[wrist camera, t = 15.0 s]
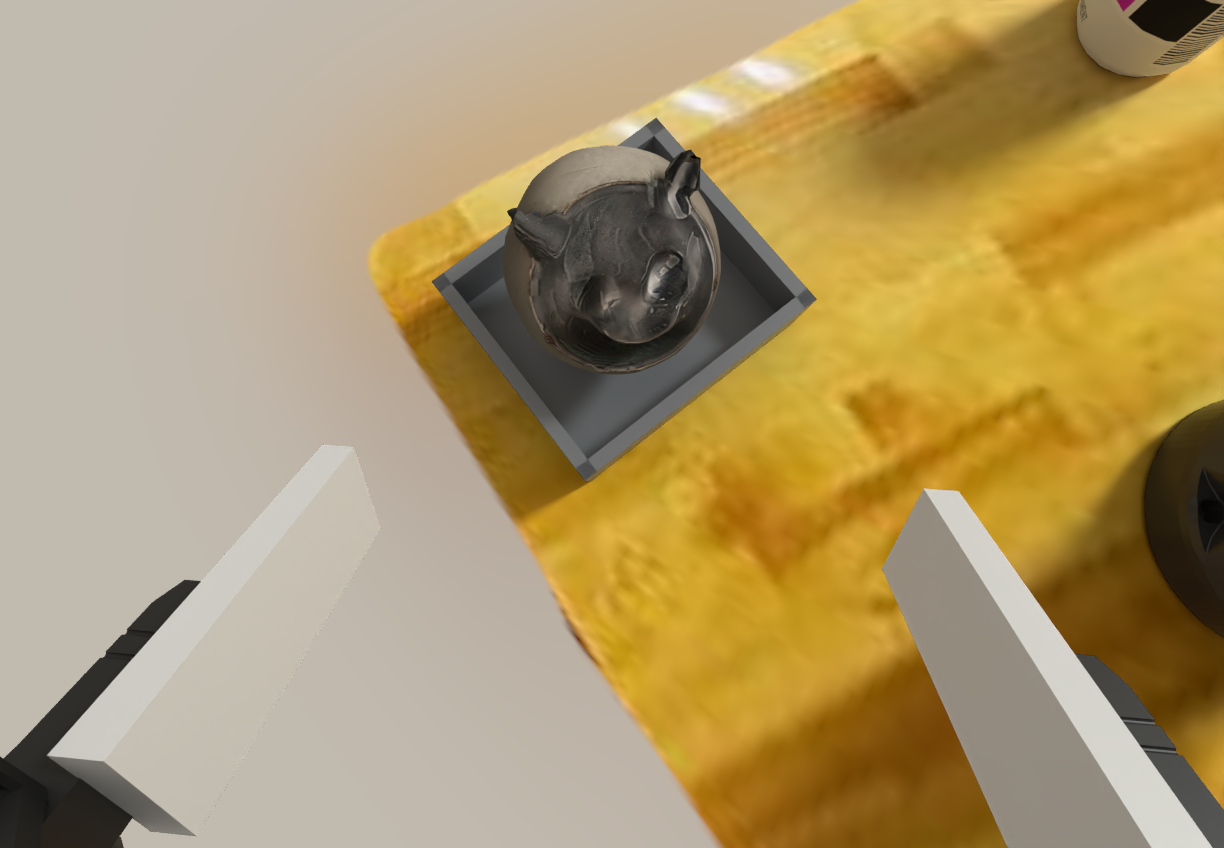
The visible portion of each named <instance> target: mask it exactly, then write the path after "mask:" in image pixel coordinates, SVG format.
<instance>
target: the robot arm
mask: <svg viewBox="0 0 1224 848" xmlns="http://www.w3.org/2000/svg"><path fill="white" fill-rule="evenodd" d="M1145 514H1146V524H1147V530H1148V535H1149V539H1150V543H1151V546H1152V549H1153V552H1154V555H1155V557H1156V560H1157V562H1158V564H1159V566H1160V568H1161V570H1162V572H1163V574H1164V576H1165V578H1166V579H1167V581H1168V583H1169V584H1170V586H1171V587H1172V589H1173V590H1174V592H1175V593H1176V594H1177V596H1178V597H1179V598H1180V599H1181V601H1182V602H1183V603H1184V604H1185V605H1186V606H1187V608H1188V609H1189V610H1190V611H1191V612H1192V613H1193V614H1194V615H1195V616H1196V617H1198V618H1199V619H1200V620H1201V621H1202V622H1203V623H1204V624H1206V625H1207V626H1208V627H1209V628H1211V629H1212V630H1213V631H1215V632H1216V633H1218V634H1219V635H1221V636H1222V637H1224V400H1221V401H1218V402H1216V403H1213V404H1210V405H1208V406H1206V407H1204V408H1202V409H1200V410H1198V411H1196V412H1195V413H1193V414H1192V415H1190V416H1189V417H1187V418H1186V419H1185V420H1184V421H1182V422H1181V423H1180V424H1179V425H1178V426H1177V427H1176V428H1175V429H1174V430H1173V431H1172V432H1171V433H1170V435H1169V436H1168V437H1167V439H1166V440H1165V441H1164V443H1163V444H1162V446H1161V447H1160V449H1159V451H1158V453H1157V455H1156V457H1155V459H1154V462H1153V464H1152V467H1151V470H1150V473H1149V477H1148V482H1147V488H1146V497H1145ZM380 529H381V528H380V524H379V521H378V518H377V516H376V512H375V509H374V506H373V503H372V500H371V497H370V494H369V491H368V487H367V484H366V481H365V478H364V475H363V472H362V469H361V466H360V463H359V460H358V457H357V454H356V450H355V447H351V446H338V445H324V444H323V445H322V446H321V447H320V448H319V449H318V450H317V451H316V452H315V453H314V455H313V456H312V457H311V458H310V459H309V460H308V462H307V463H306V464H305V465H304V466H303V467H302V468H301V469H300V470H299V472H298V473H297V474H296V475H295V476H294V477H293V478H292V480H291V481H290V482H289V483H288V484H287V485H286V486H285V487H284V489H283V490H282V491H281V492H280V493H279V494H278V495H277V496H276V497H275V499H274V500H273V501H272V502H271V503H270V504H269V505H268V507H267V508H266V509H265V510H264V511H263V512H262V513H261V515H260V516H259V517H258V518H257V519H256V520H255V521H254V523H252V525H251V526H250V527H249V528H248V529H247V530H246V532H245V533H244V534H243V535H242V536H241V537H240V538H239V539H238V541H236V543H235V544H234V545H233V546H232V547H231V548H230V549H229V551H228V552H227V553H226V554H225V555H224V556H223V557H222V558H221V560H220V561H219V562H218V563H217V564H216V565H215V566H214V567H213V569H212V570H211V571H210V572H209V573H208V574H207V575H206V576H205V578H204V579H203V580H202V581H191V580H184V581H182V582H181V583H180V584H178V585H177V586H175V587H174V588H172V589H171V590H169V591H168V592H167V593H165V594H164V595H162V596H161V597H159V598H158V599H156V600H155V601H154V602H152V603H151V604H150V605H149V606H148V608H147V609H146V610H145V611H144V612H143V613H142V614H141V615H140V616H139V617H138V618H137V619H136V620H135V621H134V622H133V623H132V625H131V626H130V627H129V628H128V629H127V633H126V634H125V635H121V636H120V637H119V638H118V640H116V641H115V643H114V644H113V645H112V646H111V647H110V648H109V649H108V650H107V651H106V655H105V657H103V658H100V659H99V660H98V661H97V662H96V663H95V664H94V665H93V666H92V667H91V668H90V669H89V670H88V671H87V673H85V674H84V675H83V677H82V678H81V679H80V680H79V681H78V682H77V683H76V684H75V685H74V686H73V687H72V688H71V689H70V690H69V692H67V693H66V695H65V696H64V697H63V698H62V699H61V700H60V701H59V702H58V703H57V704H56V705H55V706H54V707H53V708H52V709H51V710H50V711H49V713H48V714H47V715H46V716H45V717H44V718H43V719H42V720H41V721H40V722H39V723H38V724H37V725H36V727H34V729H33V730H32V731H31V732H30V733H29V734H28V735H27V736H26V737H25V738H24V739H23V740H22V741H21V742H20V743H19V744H18V745H17V747H15V748H14V749H13V750H12V751H11V752H10V753H9V754H8V755H7V756H6V757H5V758H4V759H3V758H1V757H0V848H123V844H122V840H121V837H119V836H120V835H121V833H122V832H123V830H124V829H125V827H126V826H127V825H128V823H129V822H130V820H131V819H132V818H133V819H134V820H136V821H137V822H138V823H140V824H141V825H143V826H144V827H145V828H147V829H148V830H149V831H151V832H160V833H171V834H180V835H189V836H197V835H198V834H199V832H200V830H201V829H202V827H203V825H204V824H205V822H206V820H207V819H208V817H209V815H210V813H211V812H212V810H213V808H214V807H215V805H216V803H217V802H218V800H219V798H220V797H221V795H222V793H223V792H224V790H225V788H226V787H227V785H228V783H229V782H230V780H231V778H232V777H233V775H234V773H235V772H236V770H237V768H238V767H239V765H240V763H241V762H242V760H243V758H244V757H245V755H246V753H247V751H248V750H249V748H250V747H251V745H252V743H253V741H254V740H255V738H256V737H257V735H258V733H259V732H260V730H261V728H262V726H263V725H264V723H265V721H266V720H267V718H268V716H269V715H270V713H271V711H272V710H273V708H274V706H275V705H276V703H277V701H278V700H279V698H280V696H281V695H282V693H283V691H284V690H285V688H286V686H287V685H288V683H289V681H290V680H291V678H292V676H293V675H294V673H295V671H296V670H297V668H298V666H299V665H300V663H301V661H302V660H303V658H304V656H305V654H306V653H307V651H308V650H309V648H310V646H311V645H312V643H313V641H314V640H315V638H316V636H317V635H318V633H319V631H320V629H321V628H322V626H323V625H324V623H325V621H326V620H327V618H328V616H329V614H330V613H331V611H332V609H333V608H334V606H335V604H336V603H337V601H338V599H339V598H340V596H341V594H342V593H343V591H344V589H345V588H346V586H347V584H348V583H349V581H350V579H351V577H352V576H353V574H354V573H355V571H356V569H357V568H358V566H359V564H360V562H361V561H362V559H363V557H364V556H365V554H366V553H367V551H368V549H369V547H370V546H371V544H372V543H373V541H374V539H375V538H376V536H377V534H378V533H379V531H380ZM882 570H883V572H884V574H885V576H886V579H887V581H888V583H889V585H890V587H891V590H892V592H893V594H894V596H895V599H896V601H897V603H898V605H899V607H900V610H901V612H902V614H903V616H904V619H905V621H906V623H907V625H908V627H909V630H910V632H911V634H912V636H913V639H914V641H915V643H916V645H917V647H918V650H919V652H920V654H921V656H922V659H923V661H924V663H925V665H926V667H927V670H928V672H929V674H930V676H931V679H932V681H933V683H934V685H935V687H936V690H937V692H938V694H939V696H940V699H941V701H942V703H943V705H944V707H945V710H946V712H947V714H948V716H949V719H950V721H951V723H952V725H953V727H954V730H955V732H956V734H957V736H958V739H959V741H960V743H961V745H962V747H963V750H964V752H965V754H966V756H967V759H968V761H969V763H970V765H971V767H972V770H973V772H974V774H975V776H976V779H977V781H978V783H979V785H980V788H981V790H982V792H983V794H984V796H985V799H986V801H987V803H988V805H989V808H990V810H991V812H992V814H993V816H994V819H995V821H996V823H997V825H998V828H999V830H1000V832H1001V834H1002V836H1003V839H1004V841H1005V843H1006V845H1007V848H1224V810H1223V808H1222V807H1221V806H1220V804H1219V803H1218V802H1217V800H1216V799H1215V798H1214V797H1213V795H1212V794H1211V793H1210V791H1209V790H1208V789H1207V787H1206V786H1205V785H1204V783H1203V782H1202V781H1201V780H1200V778H1199V777H1198V776H1197V774H1196V773H1195V772H1194V770H1193V769H1192V768H1191V766H1190V765H1189V764H1188V763H1187V761H1186V760H1185V759H1184V757H1183V756H1182V755H1178V754H1177V752H1176V747H1175V746H1174V744H1173V743H1172V742H1171V740H1170V739H1169V738H1168V736H1167V735H1166V734H1165V732H1164V731H1163V730H1162V728H1161V727H1160V726H1156V725H1155V723H1154V720H1155V719H1154V718H1153V717H1152V715H1151V714H1150V713H1149V711H1148V710H1147V709H1146V708H1145V706H1144V705H1143V704H1142V702H1141V701H1140V700H1139V698H1138V697H1137V696H1136V694H1135V693H1134V692H1133V691H1132V689H1131V688H1130V687H1129V685H1127V684H1126V683H1125V682H1124V681H1123V680H1122V679H1121V678H1120V677H1118V676H1117V675H1116V674H1115V673H1114V672H1113V671H1112V670H1110V669H1109V668H1108V667H1107V666H1106V665H1105V664H1104V663H1102V662H1101V661H1100V660H1099V659H1098V658H1097V657H1096V656H1092V655H1080V654H1074V652H1073V651H1072V650H1071V648H1070V647H1069V645H1068V644H1067V643H1066V641H1065V640H1064V638H1063V637H1062V636H1061V634H1060V633H1059V631H1058V630H1057V629H1056V627H1055V626H1054V624H1053V623H1052V622H1051V620H1050V619H1049V617H1048V616H1047V615H1046V613H1045V612H1044V610H1043V609H1042V608H1041V606H1040V605H1039V603H1038V602H1037V601H1036V599H1035V598H1034V596H1033V595H1032V594H1031V592H1030V591H1029V589H1028V588H1027V587H1026V585H1025V584H1024V582H1023V581H1022V580H1021V578H1020V577H1019V575H1018V574H1017V572H1016V571H1015V570H1014V568H1013V567H1012V565H1011V564H1010V563H1009V561H1008V560H1007V558H1006V557H1005V556H1004V554H1003V553H1002V551H1001V550H1000V549H999V547H998V546H997V544H996V543H995V542H994V540H993V539H992V537H991V536H990V535H989V533H988V532H987V530H986V529H985V528H984V526H983V525H982V523H981V522H980V521H979V519H978V518H977V516H976V515H975V514H974V512H973V511H972V509H971V508H970V507H969V505H968V504H967V502H966V501H965V500H964V498H963V497H962V495H961V494H960V493H959V491H950V490H936V489H923V491H922V493H921V495H920V497H919V499H918V501H917V502H916V504H915V506H914V508H913V510H912V512H911V514H910V516H909V518H908V520H907V522H906V524H905V525H904V527H903V529H902V531H901V533H900V535H899V537H898V539H897V541H896V543H895V545H894V547H893V548H892V550H891V552H890V554H889V556H888V558H887V560H886V562H885V564H884V566H883V568H882Z"/></svg>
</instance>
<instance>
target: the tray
mask: <svg viewBox="0 0 1224 848" xmlns="http://www.w3.org/2000/svg"><path fill="white" fill-rule="evenodd" d="M618 146H624V147H632V148H637V149H641V150H644V151H648V152H651V153H654V154H656V155H659V156H661V157H662V158H664V159H666V160H667V161H669V162H671V161H672V159H674V158H675V157H676V156H677V155H678V154H680V153H681V152H684V151H685V150H684V149H683V148H682V146H681V145H680V144H679V143H678V142H677V141H676V140H675V139H674V137H673V136H672V135H671V134H670V133H669V132H668V131H667V130H666V128H665V127H664V126H663V125H662V124H661V123H660V122H659V120H658V119H657V118H655V119H654V120H652V121H651V122H650V123H648V124H647V125H646V126H644V127H643V128H641V129H640V130H639V131H637V132H636V133H635V134H633V135H632V136H631V137H629V138H628V139H626V140H625V141H624V142H622V143H621V144H620V145H618ZM698 191H699V193H700V195H701V196H702V198H703V199H704V201H705V203H706V205H707V207H708V208H709V211H710V213H711V215H712V217H713V220H714V223H715V226H716V230H717V235H718V240H719V247H720V258H721V273H720V279H719V284H718V289H717V293H716V296H715V299H714V302H713V305H712V307H711V309H710V311H709V314H708V316H707V318H706V320H705V321H704V323H703V324H702V326H701V328H700V329H699V330H698V332H697V333H696V334H695V336H694V337H693V338H692V339H691V340H690V341H689V342H688V343H687V344H686V345H685V346H684V347H683V348H682V349H681V350H680V351H679V352H678V353H676V354H675V355H674V356H672V357H671V358H669V359H667V360H665V361H664V362H662V363H659V364H657V365H655V366H653V367H650V368H648V369H645V370H643V371H640V372H636V373H631V374H620V375H612V374H602V373H595V372H590V371H586V370H583V369H580V368H577V367H574V366H572V365H570V364H567V363H565V362H563V361H562V360H560V359H558V358H556V357H555V356H553V355H552V354H550V353H549V352H548V351H546V350H545V349H544V348H542V347H541V346H540V345H539V344H538V343H537V342H536V341H535V340H534V339H533V338H532V337H531V335H530V334H529V332H528V331H527V329H526V327H525V326H524V324H523V322H522V321H521V319H520V317H519V315H518V313H517V311H516V309H515V307H514V305H513V303H512V301H511V298H510V296H509V294H508V291H507V288H506V284H505V280H504V274H503V251H504V243H505V236H506V234H507V231H508V229H509V226H510V225H508V226H507V227H506V228H504V229H503V230H502V231H500V232H499V233H497V234H496V235H495V236H493V237H492V238H491V239H489V240H488V241H487V242H485V243H484V244H482V245H481V246H480V247H478V248H477V249H476V250H474V251H473V252H471V253H470V254H469V255H467V256H466V257H465V258H463V259H462V260H460V261H459V262H458V263H456V264H455V265H454V266H452V267H451V268H449V269H448V270H447V271H445V272H444V273H443V274H441V275H440V276H439V277H437V278H436V279H434V280H433V281H432V283H433V284H434V285H435V287H436V288H437V289H438V291H439V292H440V293H441V294H442V296H443V297H444V298H445V300H446V301H447V302H448V304H449V305H450V306H451V307H452V309H453V310H454V311H455V313H456V314H457V315H458V317H459V318H460V319H461V320H462V322H463V323H464V324H465V326H466V327H467V328H468V330H469V331H470V332H471V333H472V335H473V336H474V337H475V339H476V340H477V341H478V343H479V344H480V345H481V346H482V348H483V349H484V350H485V352H486V353H487V354H488V356H489V357H490V358H491V359H492V361H493V362H494V363H495V365H496V366H497V367H498V368H499V370H500V371H501V372H502V374H503V375H504V376H505V378H506V379H507V380H508V381H509V383H510V384H511V385H512V387H513V388H514V389H515V391H516V392H517V393H518V394H519V396H520V397H521V398H522V400H523V401H524V402H525V404H526V405H527V406H528V407H529V409H530V410H531V411H532V413H533V414H534V415H535V417H536V418H537V419H538V420H539V422H540V423H541V424H542V426H543V427H544V428H545V430H546V431H547V432H548V433H549V435H550V436H551V437H552V439H553V440H554V441H555V443H556V444H557V445H558V446H559V448H560V449H561V450H562V452H563V453H564V454H565V456H566V457H567V458H568V459H569V461H570V462H571V463H572V465H573V466H574V467H575V469H576V470H577V471H578V472H579V474H580V475H581V476H582V478H583V479H584V480H585V481H587V482H591V481H592V480H593V479H595V478H596V477H597V476H598V475H600V474H601V473H602V472H603V471H605V470H606V469H607V468H609V467H610V466H611V465H612V464H614V463H615V462H616V461H617V460H619V459H620V458H621V457H623V456H624V455H625V454H626V453H628V452H629V451H630V450H632V449H633V448H634V447H635V446H637V445H638V444H639V443H640V442H642V441H643V440H644V439H646V438H647V437H648V436H649V435H651V434H652V433H653V432H654V431H656V430H657V429H658V428H660V427H661V426H662V425H663V424H665V423H666V422H667V421H668V420H670V419H671V418H672V417H674V416H675V415H676V414H677V413H679V412H680V411H681V410H683V409H684V408H685V407H686V406H688V405H689V404H690V403H691V402H693V401H694V400H695V399H697V398H698V397H699V396H700V395H702V394H703V393H704V392H705V391H707V390H708V389H709V388H711V387H712V386H713V385H714V384H716V383H717V382H718V381H719V380H721V379H722V378H723V377H725V376H726V375H727V374H728V373H730V372H731V371H732V370H733V369H735V368H736V367H737V366H739V365H740V364H741V363H742V362H744V361H745V360H746V359H748V358H749V357H750V356H751V355H753V354H754V353H755V352H756V351H758V350H759V349H760V348H762V347H763V346H764V345H765V344H767V343H768V342H769V341H770V340H772V339H773V338H774V337H776V336H777V335H778V334H779V333H781V332H782V331H783V330H784V329H786V328H787V327H788V326H790V325H791V324H792V323H793V322H794V321H795V320H796V319H797V318H798V317H799V316H800V315H801V314H802V313H803V312H804V311H805V310H806V309H807V308H808V307H809V306H810V305H811V304H812V303H813V302H814V301H815V300H816V298H815V297H814V296H813V295H812V293H811V292H810V291H809V290H808V289H807V288H806V287H805V286H804V284H803V283H802V282H801V281H800V280H799V279H798V278H797V276H796V275H795V274H794V273H793V272H792V271H791V270H790V269H789V267H788V266H787V265H786V264H785V263H784V262H783V261H782V260H781V258H780V257H779V256H778V255H777V254H776V253H775V252H774V250H773V249H772V248H771V247H770V246H769V245H768V244H767V243H766V241H765V240H764V239H763V238H762V237H761V236H760V235H759V234H758V232H757V231H756V230H755V229H754V228H753V227H752V226H751V224H750V223H749V222H748V221H747V220H746V219H745V218H744V217H743V215H742V214H741V213H740V212H739V211H738V210H737V209H736V208H735V206H734V205H733V204H732V203H731V202H730V201H729V200H728V198H727V197H726V196H725V195H724V194H723V193H722V192H721V191H720V189H719V188H718V187H717V186H716V185H715V184H714V183H713V182H712V180H711V179H710V178H709V177H708V176H707V175H706V174H705V172H704V171H703V170H702V169H701V168H700V189H698Z"/></svg>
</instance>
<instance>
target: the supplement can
mask: <svg viewBox="0 0 1224 848" xmlns="http://www.w3.org/2000/svg"><path fill="white" fill-rule="evenodd" d="M1076 24H1077V31H1078V39H1079V40H1080V42H1081V44H1082V46H1083V48H1084V49H1085V51H1086V53H1087V54H1088V55H1089V56H1090V57H1091V58H1092V59H1093V60H1094V61H1095V62H1097V63H1098V64H1099V65H1100V66H1101V67H1103V68H1105V69H1108V70H1110V71H1112V72H1114V73H1116V74H1119V75H1126V76H1132V77H1141V76H1148V77H1150V76H1156V75H1162V74H1168V73H1172V72H1174V71H1175V70H1177V69H1179V68H1181V67H1183V66H1184V65H1186V64H1188V63H1190V62H1191V61H1192V60H1194V59H1195V58H1196V57H1197V56H1199V55H1200V54H1201V53H1203V52H1204V51H1205V50H1207V49H1208V48H1209V47H1211V46H1212V45H1213V44H1215V43H1216V42H1217V41H1219V40H1220V39H1221V38H1223V37H1224V0H1080V1H1079V4H1078V8H1077V22H1076Z"/></svg>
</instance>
